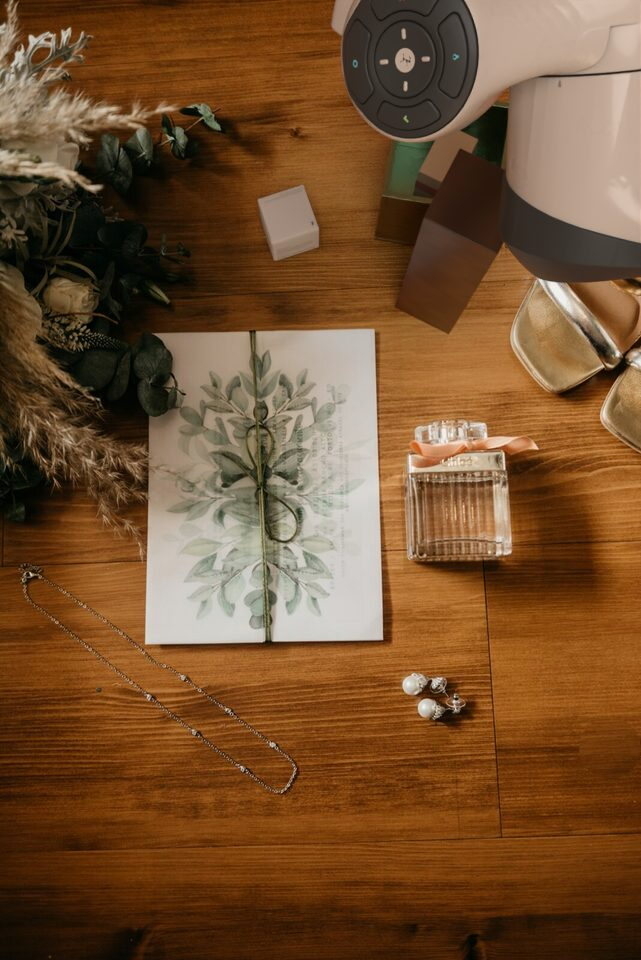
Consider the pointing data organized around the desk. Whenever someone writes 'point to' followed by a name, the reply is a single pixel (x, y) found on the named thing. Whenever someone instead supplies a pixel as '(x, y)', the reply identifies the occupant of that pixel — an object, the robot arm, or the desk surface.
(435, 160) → the packet
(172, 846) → the desk surface
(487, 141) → the bin
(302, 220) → the small box
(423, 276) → the plinth
